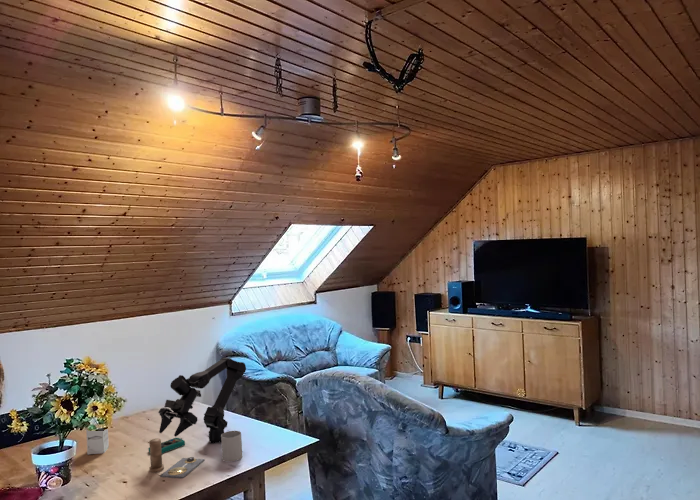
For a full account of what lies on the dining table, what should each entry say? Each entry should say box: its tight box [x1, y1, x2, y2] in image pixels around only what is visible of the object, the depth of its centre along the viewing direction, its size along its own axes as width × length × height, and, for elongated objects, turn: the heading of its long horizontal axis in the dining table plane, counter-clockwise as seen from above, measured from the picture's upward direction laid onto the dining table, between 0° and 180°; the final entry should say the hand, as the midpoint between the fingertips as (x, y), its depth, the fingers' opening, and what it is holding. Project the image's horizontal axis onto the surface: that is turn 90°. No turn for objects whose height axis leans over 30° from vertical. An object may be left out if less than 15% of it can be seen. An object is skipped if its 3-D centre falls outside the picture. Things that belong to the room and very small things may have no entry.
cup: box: [221, 430, 243, 463], centre depth 225 cm, size 8×8×10 cm
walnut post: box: [148, 438, 165, 474], centre depth 217 cm, size 6×6×12 cm
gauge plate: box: [159, 456, 205, 479], centre depth 216 cm, size 17×10×2 cm, turn 167°
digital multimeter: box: [147, 437, 186, 454], centre depth 239 cm, size 7×15×3 cm, turn 141°
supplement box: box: [85, 428, 110, 456], centre depth 240 cm, size 7×7×13 cm
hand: (167, 434), depth 222 cm, fingers open, 9 cm apart
